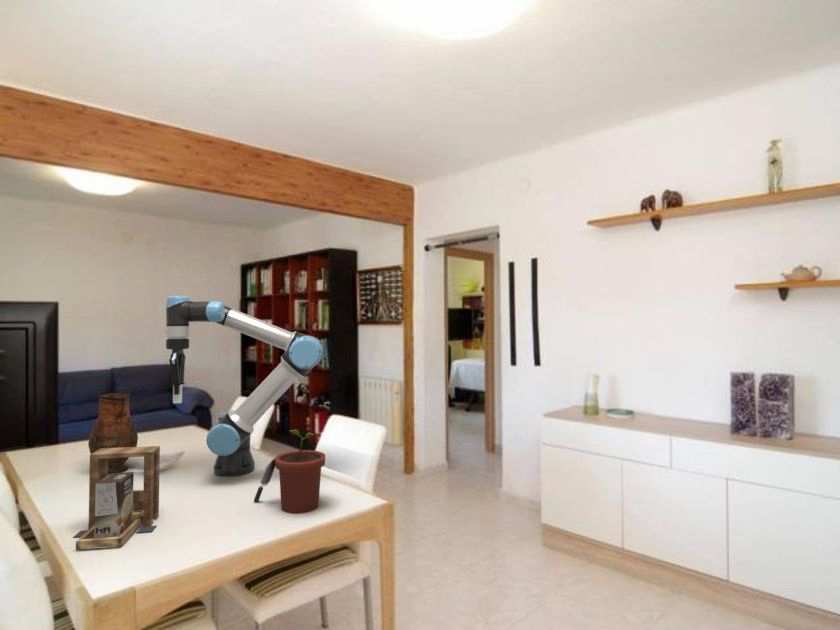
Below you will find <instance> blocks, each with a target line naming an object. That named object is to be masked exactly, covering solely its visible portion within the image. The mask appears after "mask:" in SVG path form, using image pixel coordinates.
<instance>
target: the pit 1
mask: <svg viewBox="0 0 840 630" xmlns="http://www.w3.org/2000/svg"><path fill="white" fill-rule="evenodd" d="M88 530H89V529H84V530H80V531H78V532H77V533H76V534H75V535H74V536H72V538H73V539H79V538H80V537H82V536H83V535H84V534H85V533H86V532H87V531H88Z"/></svg>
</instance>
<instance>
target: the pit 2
mask: <svg viewBox="0 0 840 630" xmlns="http://www.w3.org/2000/svg"><path fill="white" fill-rule="evenodd" d="M157 527H158V525H151V526H143V525H141V526H140V528H139V529H138V530H136V531H135V532H136V533H135V534H150V533H153V532H154V530H155V529H157Z"/></svg>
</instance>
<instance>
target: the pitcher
mask: <svg viewBox="0 0 840 630" xmlns="http://www.w3.org/2000/svg"><path fill="white" fill-rule="evenodd" d="M97 397H98V401H99V402H98V413H97V418H96V421H95V423H94V426H93V427H92V429H91V431H90V433H89V434H90V435H89V439H88V450H89V453H90V454H92V453H94V452H95V451H97V450H99V449H101V448H122V447H138V439H139V436H138V430H137V428H136V426H135V423H134V421H133V418H132V417H131V412H130V399H131V393H129V392H109V393H104V394H99V395H98V396H97ZM129 458H130V457H123V458H108V475H109V474H111V473H123V472H126V471H127V470H128V469H129V467H126V466H127V465H126V464H125V463H126V462H127V461H128V460H129ZM125 465H126V466H125Z"/></svg>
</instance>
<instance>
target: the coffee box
mask: <svg viewBox="0 0 840 630" xmlns="http://www.w3.org/2000/svg"><path fill="white" fill-rule="evenodd" d="M134 476H135V475H134V471H132V472H131V471H129V472H126V471H124V472H121V473H111V474H108V475H107V476H106V477H104V478H103V479H101V480H99V481H98V482H96V483H95V484H96V489H95V528H94V537H93V539H95V538H109V537H119V536H120V535H121V534H122V533H123V532H124V531H125V530H126V529H127V528H128V527H129V526H130V525H131V524H132V523H133V513H134V511H133V490H134V478H135V477H134Z"/></svg>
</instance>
